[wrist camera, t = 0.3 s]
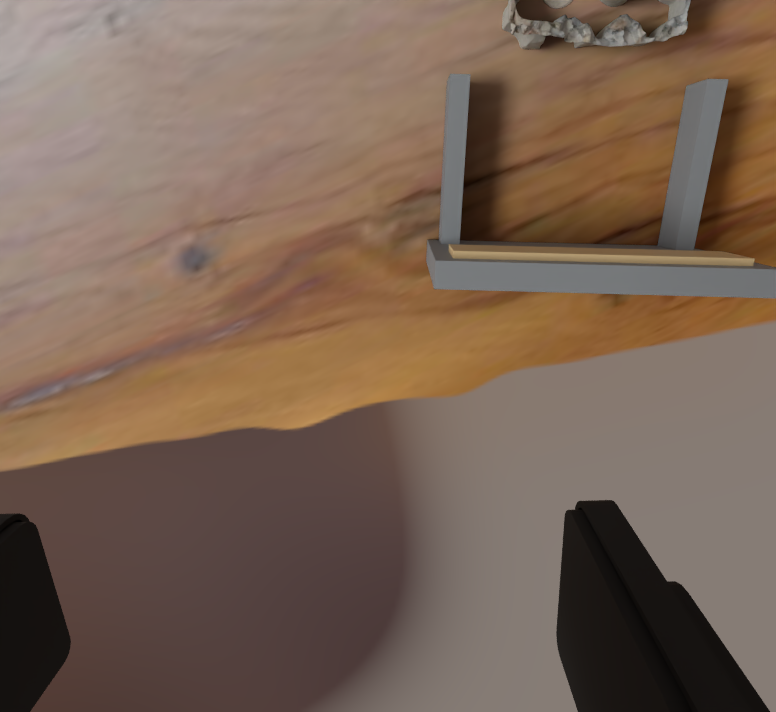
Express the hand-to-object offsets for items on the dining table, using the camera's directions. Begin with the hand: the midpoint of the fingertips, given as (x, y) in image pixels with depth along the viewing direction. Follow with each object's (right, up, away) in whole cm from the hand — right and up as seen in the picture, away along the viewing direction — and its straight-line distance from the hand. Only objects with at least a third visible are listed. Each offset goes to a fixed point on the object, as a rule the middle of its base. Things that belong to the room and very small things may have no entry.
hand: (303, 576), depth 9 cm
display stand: (+13, +16, +26) cm, 33 cm away
